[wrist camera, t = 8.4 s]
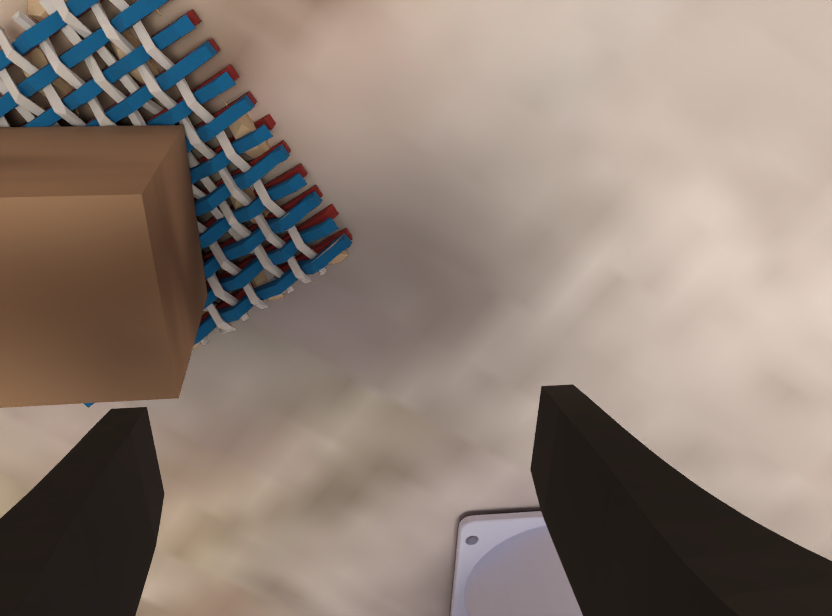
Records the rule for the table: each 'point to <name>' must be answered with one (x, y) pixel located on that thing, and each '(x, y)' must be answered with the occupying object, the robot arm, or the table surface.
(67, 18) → the woven mat
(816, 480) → the table surface
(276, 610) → the table surface
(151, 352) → the cube
